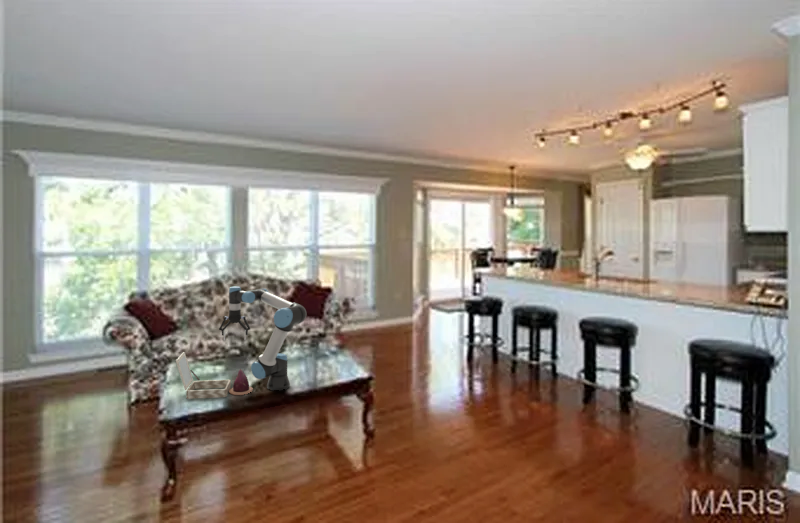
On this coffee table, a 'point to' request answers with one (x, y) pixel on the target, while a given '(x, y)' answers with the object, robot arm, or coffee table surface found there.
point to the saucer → (240, 392)
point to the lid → (184, 370)
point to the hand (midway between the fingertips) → (234, 340)
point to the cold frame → (208, 384)
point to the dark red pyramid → (241, 382)
